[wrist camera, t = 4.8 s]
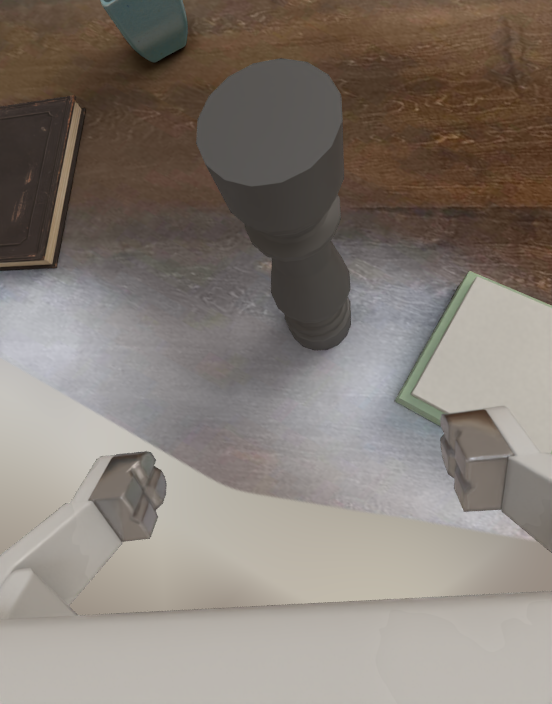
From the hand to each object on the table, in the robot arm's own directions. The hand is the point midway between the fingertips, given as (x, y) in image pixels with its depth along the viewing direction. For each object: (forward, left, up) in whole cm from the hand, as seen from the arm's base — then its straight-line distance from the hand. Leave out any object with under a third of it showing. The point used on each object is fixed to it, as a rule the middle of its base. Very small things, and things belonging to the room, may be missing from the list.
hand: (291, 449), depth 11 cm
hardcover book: (+7, +51, -26) cm, 58 cm away
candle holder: (+10, +7, -26) cm, 29 cm away
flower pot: (+34, +45, -26) cm, 62 cm away
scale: (+13, -9, -26) cm, 30 cm away
